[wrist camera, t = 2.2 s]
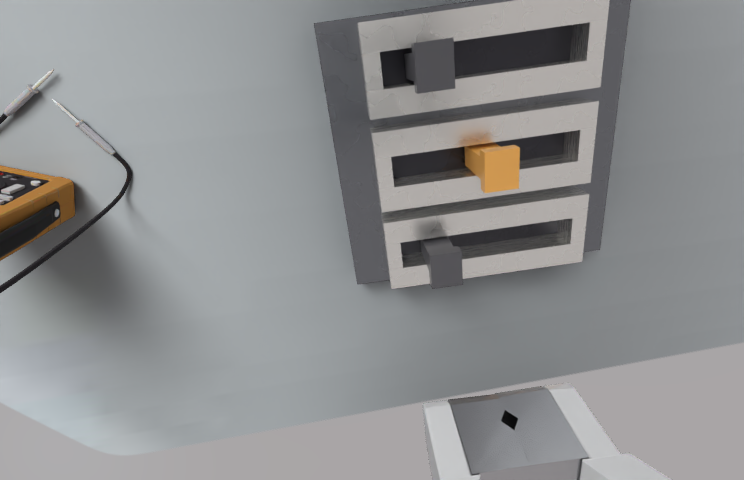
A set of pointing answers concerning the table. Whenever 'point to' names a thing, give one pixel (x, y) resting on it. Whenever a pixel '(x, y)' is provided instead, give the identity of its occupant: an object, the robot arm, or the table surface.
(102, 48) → the table surface
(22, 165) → the table surface
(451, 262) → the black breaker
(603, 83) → the breaker board
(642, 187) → the table surface
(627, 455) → the robot arm
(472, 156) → the orange breaker
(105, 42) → the table surface
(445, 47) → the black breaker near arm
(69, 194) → the multimeter
